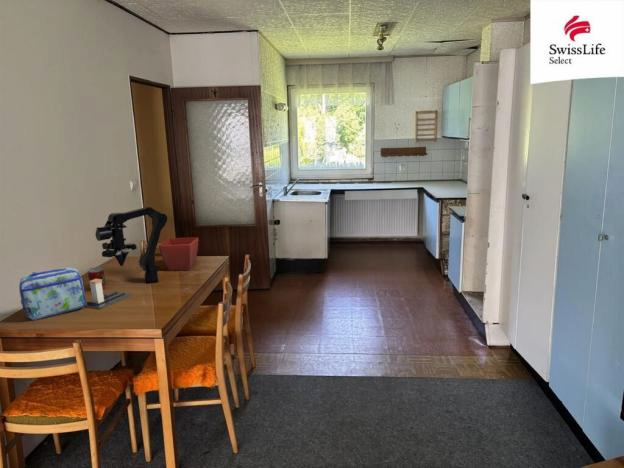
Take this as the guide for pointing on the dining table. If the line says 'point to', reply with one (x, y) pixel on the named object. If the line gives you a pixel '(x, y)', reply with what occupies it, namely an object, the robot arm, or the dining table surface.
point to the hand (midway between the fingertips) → (121, 265)
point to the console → (108, 300)
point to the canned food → (97, 275)
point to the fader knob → (97, 290)
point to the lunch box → (51, 292)
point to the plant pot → (179, 253)
